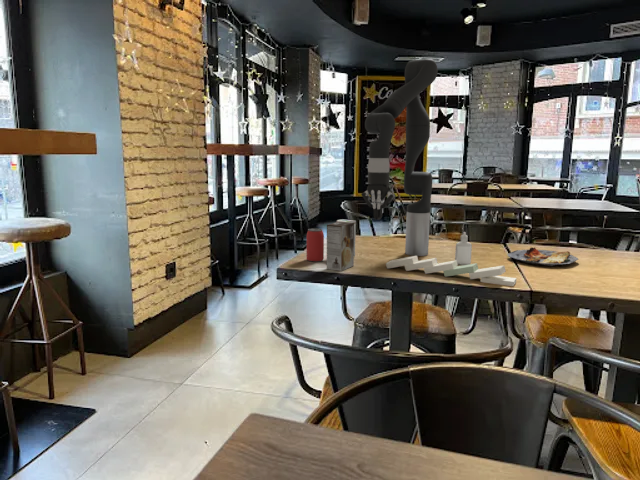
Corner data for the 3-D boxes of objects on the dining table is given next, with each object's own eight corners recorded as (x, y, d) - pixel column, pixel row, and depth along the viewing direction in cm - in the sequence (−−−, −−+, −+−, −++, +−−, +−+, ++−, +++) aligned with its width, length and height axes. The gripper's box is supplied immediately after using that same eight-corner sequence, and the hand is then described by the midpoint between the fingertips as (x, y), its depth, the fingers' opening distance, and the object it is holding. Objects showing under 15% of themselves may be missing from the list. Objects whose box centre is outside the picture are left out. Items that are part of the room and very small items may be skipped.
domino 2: (409, 262, 176) (436, 257, 171) (410, 267, 176) (437, 263, 171) (404, 265, 172) (431, 260, 167) (405, 271, 172) (433, 266, 167)
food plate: (525, 251, 207) (526, 243, 206) (585, 260, 191) (586, 252, 190) (498, 262, 189) (499, 253, 189) (562, 273, 173) (563, 263, 173)
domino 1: (391, 260, 180) (417, 255, 175) (392, 265, 180) (418, 260, 175) (385, 263, 175) (412, 258, 170) (387, 268, 175) (413, 263, 170)
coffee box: (338, 264, 182) (339, 221, 179) (354, 266, 178) (354, 222, 175) (325, 269, 174) (326, 224, 171) (341, 271, 171) (342, 225, 168)
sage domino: (448, 267, 169) (477, 263, 164) (449, 273, 169) (478, 268, 164) (443, 270, 164) (472, 266, 159) (444, 276, 164) (474, 272, 159)
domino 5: (484, 274, 163) (516, 278, 158) (484, 280, 163) (515, 284, 158) (480, 277, 158) (513, 281, 153) (480, 283, 158) (513, 288, 153)
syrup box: (335, 256, 195) (335, 220, 192) (344, 254, 199) (344, 218, 197) (346, 258, 191) (347, 221, 189) (355, 256, 196) (356, 220, 193)
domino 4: (474, 269, 164) (504, 265, 158) (475, 275, 164) (505, 271, 158) (468, 273, 160) (499, 268, 154) (470, 279, 160) (501, 275, 154)
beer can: (321, 262, 184) (322, 231, 182) (304, 261, 185) (304, 230, 183) (325, 258, 190) (325, 228, 188) (308, 258, 192) (308, 227, 189)
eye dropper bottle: (468, 265, 180) (470, 233, 178) (453, 263, 183) (455, 232, 181) (471, 263, 184) (473, 232, 182) (457, 261, 187) (458, 230, 185)
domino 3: (428, 265, 173) (456, 260, 168) (430, 270, 173) (457, 265, 168) (423, 268, 168) (452, 263, 163) (425, 273, 168) (453, 269, 163)
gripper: (400, 171, 174) (398, 219, 177) (366, 169, 181) (366, 216, 184) (391, 172, 168) (390, 222, 171) (357, 170, 174) (356, 219, 178)
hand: (377, 219), depth 178 cm, fingers closed
